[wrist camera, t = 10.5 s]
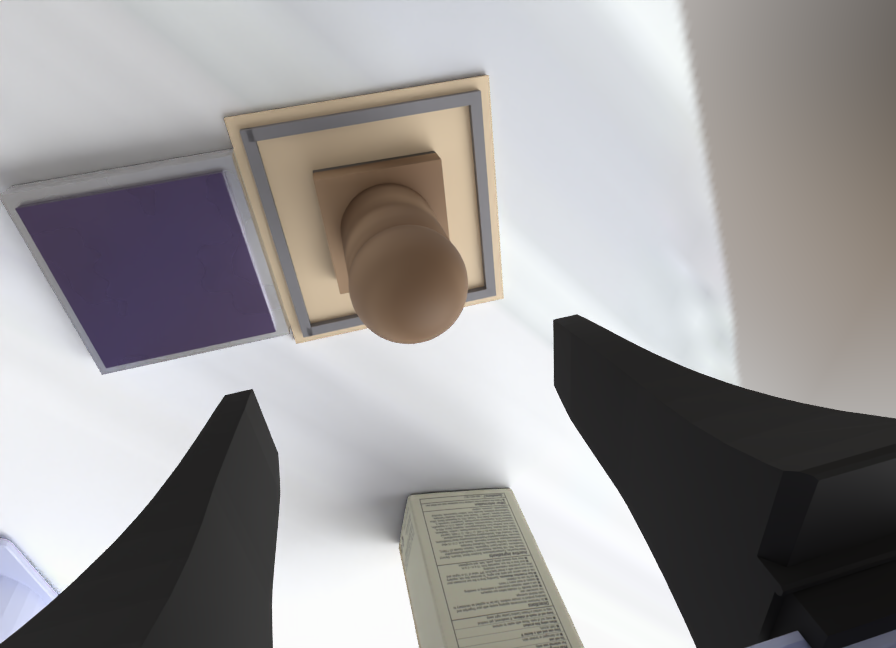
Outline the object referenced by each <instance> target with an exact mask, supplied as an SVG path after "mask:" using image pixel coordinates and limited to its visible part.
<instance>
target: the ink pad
mask: <svg viewBox="0 0 896 648" xmlns="http://www.w3.org/2000/svg"><path fill="white" fill-rule="evenodd" d="M0 200H1V201H2V203H3V205H4V206H5V208H6V210H7V212H8V213H9V215H10V217H11V219H12V220H13V222H14V224H15V225H16V227H17V229H18V231H19V232H20V234H21V236H22V238H23V239H24V241H25V243H26V244H27V246H28V248H29V250H30V251H31V253H32V255H33V256H34V258H35V260H36V262H37V263H38V265H39V267H40V269H41V270H42V272H43V274H44V275H45V277H46V279H47V281H48V282H49V284H50V286H51V287H52V289H53V291H54V293H55V294H56V296H57V298H58V300H59V301H60V303H61V305H62V306H63V308H64V310H65V312H66V313H67V315H68V317H69V319H70V320H71V322H72V324H73V325H74V327H75V329H76V331H77V332H78V334H79V336H80V337H81V339H82V341H83V343H84V344H85V346H86V348H87V350H88V351H89V353H90V355H91V356H92V358H93V360H94V362H95V363H96V365H97V367H98V369H99V370H100V372H101V374H102V375H103V374H108V373H112V372H117V371H121V370H126V369H131V368H135V367H140V366H144V365H149V364H154V363H158V362H163V361H167V360H172V359H177V358H181V357H186V356H191V355H195V354H200V353H204V352H209V351H214V350H218V349H223V348H227V347H232V346H237V345H241V344H246V343H251V342H255V341H260V340H264V339H269V338H274V337H278V336H283V335H287V334H290V323H289V320H288V316H287V313H286V310H285V307H284V304H283V301H282V298H281V295H280V292H279V289H278V285H277V282H276V279H275V276H274V273H273V270H272V267H271V264H270V261H269V257H268V254H267V251H266V248H265V245H264V242H263V239H262V236H261V233H260V230H259V226H258V223H257V220H256V217H255V214H254V211H253V208H252V205H251V202H250V199H249V195H248V192H247V189H246V186H245V183H244V180H243V177H242V174H241V171H240V167H239V164H238V161H237V158H236V155H235V152H234V149H233V148H232V149H226V150H220V151H214V152H209V153H203V154H197V155H191V156H185V157H179V158H173V159H167V160H162V161H156V162H150V163H144V164H138V165H132V166H126V167H120V168H114V169H109V170H103V171H97V172H91V173H85V174H79V175H73V176H67V177H62V178H56V179H50V180H44V181H38V182H32V183H26V184H20V185H15V186H11V187H10V188H9V189H7V190H6V191H4V192H3V193H1V194H0Z"/></svg>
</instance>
